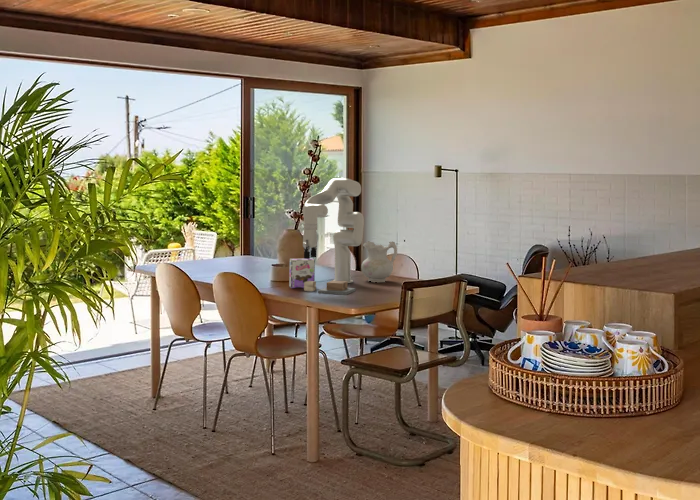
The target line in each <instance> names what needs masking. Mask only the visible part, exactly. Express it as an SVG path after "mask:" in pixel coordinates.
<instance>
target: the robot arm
mask: <svg viewBox="0 0 700 500" xmlns="http://www.w3.org/2000/svg"><path fill="white" fill-rule="evenodd" d="M361 193H362V185H361V184H360V182H359V181H356V180H353V179H351V178H348V177H347V178H345V177H343V178H341V177H339V178H338V177H337V178H331V179H329V180H328V182H327V184H326V185H325V187H324V188H323V189H322V190H321V192H318V193H317V194H314V195H312V196H311V197H308V199H307V200H306V201H305V203H304V205H302V206H303V207H302V214H303V234H302V235H303V237H302V248H303V259H310V258H317V249H318V248H317V247H318V246H317V244H318V238H317V237H318V235H317V234H318V233H317V230H318V219H320V218H326V216H327V215H328V214H329V213H328V212H329V209H328V207H327V204H328V205H329V204H332V203H333V202H334V201H335V199H337V201H338V213H337V225H338V226H339V227H340V228H348V229H337V230H335V231H334V233H333V238H332V239H333V244H334V279H331V281H347V282H348V284H353V283H354V280H353V279H351V277H352V274H351V266H352V265H351V264H352V263H351V255H352V254H351V250H350V248H349V247H358V246H360V245H361V244H362V242H363V236H364V235H363V234H364V224H365V219H364V215H363V214H362V212H359V211H353V210H354V203H353V202H354V201H352V198H351V197H359V195H361Z"/></svg>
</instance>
